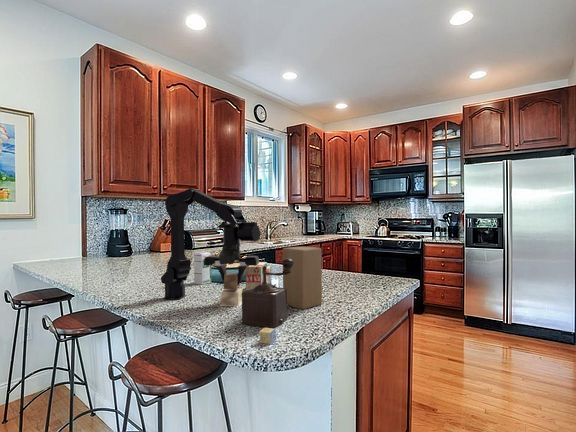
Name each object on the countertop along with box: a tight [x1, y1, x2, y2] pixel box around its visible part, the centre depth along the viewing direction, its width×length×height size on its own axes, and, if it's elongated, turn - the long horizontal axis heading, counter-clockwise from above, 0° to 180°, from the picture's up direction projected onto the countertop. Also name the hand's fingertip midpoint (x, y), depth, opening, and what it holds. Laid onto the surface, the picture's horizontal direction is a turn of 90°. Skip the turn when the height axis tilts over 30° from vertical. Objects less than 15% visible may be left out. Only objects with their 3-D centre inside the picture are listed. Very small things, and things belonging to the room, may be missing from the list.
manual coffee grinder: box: [241, 258, 293, 329], centre depth 102 cm, size 16×11×18 cm
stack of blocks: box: [244, 261, 272, 291], centre depth 140 cm, size 21×6×12 cm, turn 172°
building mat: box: [219, 302, 242, 307], centre depth 119 cm, size 13×15×1 cm
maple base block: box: [220, 288, 243, 305], centre depth 120 cm, size 6×6×4 cm
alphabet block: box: [259, 328, 277, 345], centre depth 84 cm, size 3×3×3 cm
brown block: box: [223, 272, 240, 290], centre depth 120 cm, size 4×4×5 cm
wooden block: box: [282, 245, 323, 310], centre depth 119 cm, size 10×10×20 cm
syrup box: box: [193, 251, 212, 286], centre depth 159 cm, size 6×6×14 cm
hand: (231, 284), depth 120 cm, fingers closed on brown block, 4 cm apart
